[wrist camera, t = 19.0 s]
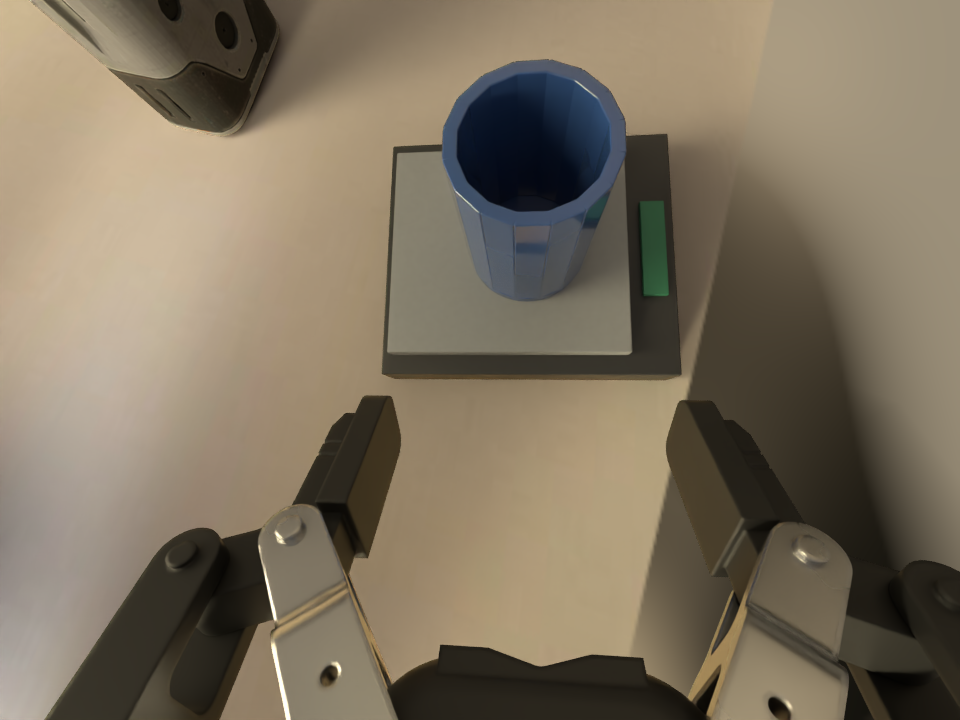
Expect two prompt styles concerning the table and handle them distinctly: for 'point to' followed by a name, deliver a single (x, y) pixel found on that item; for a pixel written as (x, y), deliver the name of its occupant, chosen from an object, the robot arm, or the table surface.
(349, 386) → the table surface
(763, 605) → the robot arm
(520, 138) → the cup
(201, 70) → the electronic device
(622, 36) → the table surface
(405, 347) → the kitchen scale
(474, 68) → the table surface
